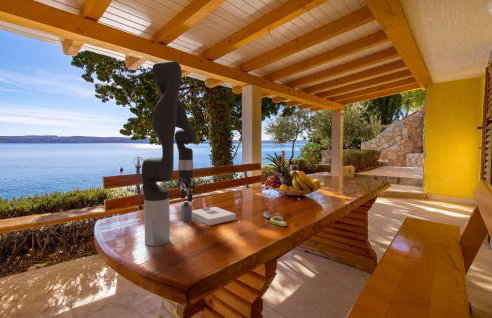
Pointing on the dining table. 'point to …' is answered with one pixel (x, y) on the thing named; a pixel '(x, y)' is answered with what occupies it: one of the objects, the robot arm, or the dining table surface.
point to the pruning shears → (275, 219)
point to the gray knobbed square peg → (186, 212)
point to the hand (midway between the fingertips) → (186, 200)
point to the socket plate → (213, 215)
